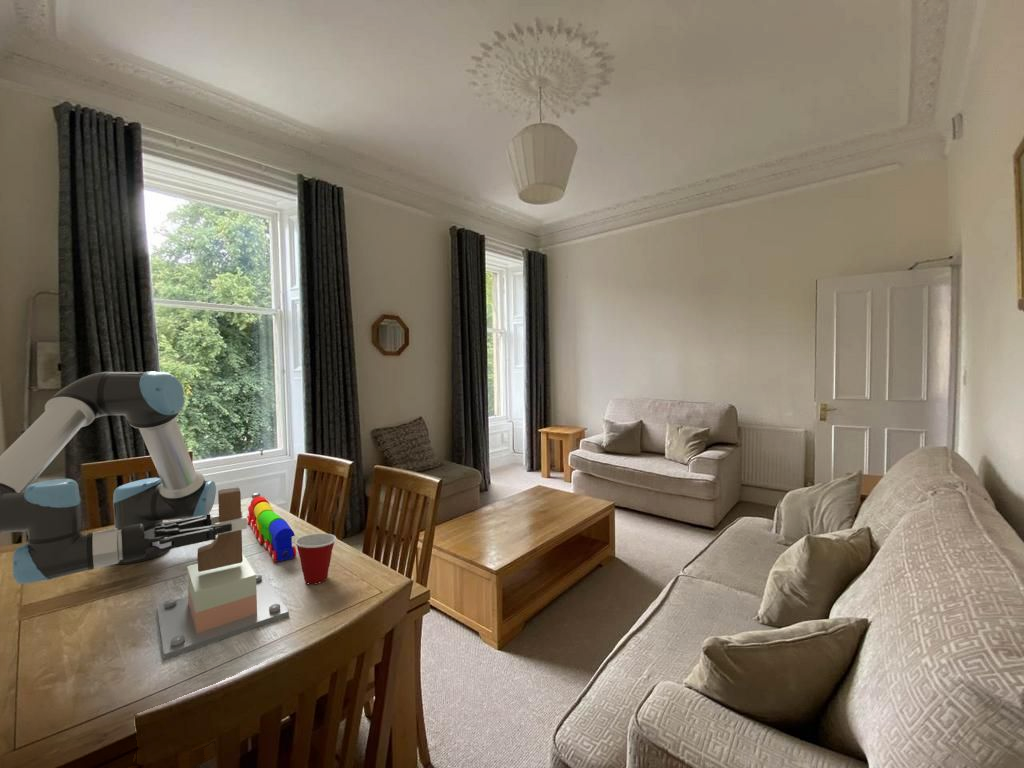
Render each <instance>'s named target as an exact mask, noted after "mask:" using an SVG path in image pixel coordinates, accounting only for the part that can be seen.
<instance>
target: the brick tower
mask: <svg viewBox="0 0 1024 768" xmlns="http://www.w3.org/2000/svg"><path fill="white" fill-rule="evenodd" d="M242 559H243V561H242V562H241V563H238V564H233V565H228V566H224V567H219V568H215V569H210V570H206V571H201V572H199V571H198V563H195V564H190V565H187V566H186V570H187V572H186V575H187V595H188V596H184V597H181V598H177V599H175V598H173V599H169V600H166V601H164V603H161V604H156V613H157V618H158V625H159V631H160V632H159V633H160V638H161V639H160V640H161V647H162V655H163V660H164V661H165V660H167V659H171V658H173V657H176V656H180V655H182V654H184V653H188V652H190V651H193V650H195V649H196V650H197V649H200V648H202V647H204V646H205V647H206V646H208V645H210V644H213V643H217V642H220V641H222V640H224V639H227V638H230V637H233V636H236V635H238V634H242V633H245V632H247V631H250V630H254V629H256V628H258V627H262V626H265V625H267V624H271V623H273V622H276V621H279V620H281V619H284V618H288V617H289V616H290V614H289V613H290V612H289V610H288V608H287V607H286V605H285V603H284V601H283V600H282V599H281V597H280V595H279V593H278V592H277V591H276V589H275V588H274V586H273V585H272V584H271V581H270V580H269V579H268V577H267V576H266V574H261V575H260V574H256V572H255V570H254V569H253V567H252V566H251V564H250V562H249V561H248V560H247V558H246V556H245V555H244V552H242Z"/></svg>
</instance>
